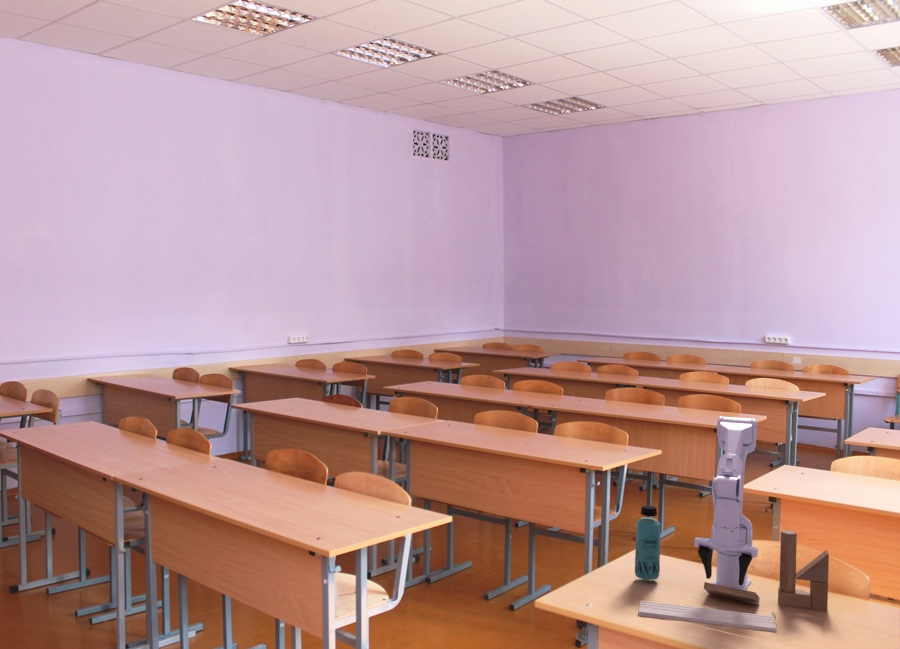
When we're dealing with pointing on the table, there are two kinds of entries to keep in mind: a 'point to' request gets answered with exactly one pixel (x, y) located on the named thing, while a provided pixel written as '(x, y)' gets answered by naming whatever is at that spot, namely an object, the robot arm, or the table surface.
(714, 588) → the plank
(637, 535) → the beverage bottle
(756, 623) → the baseboard
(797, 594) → the wooden block
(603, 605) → the table surface
